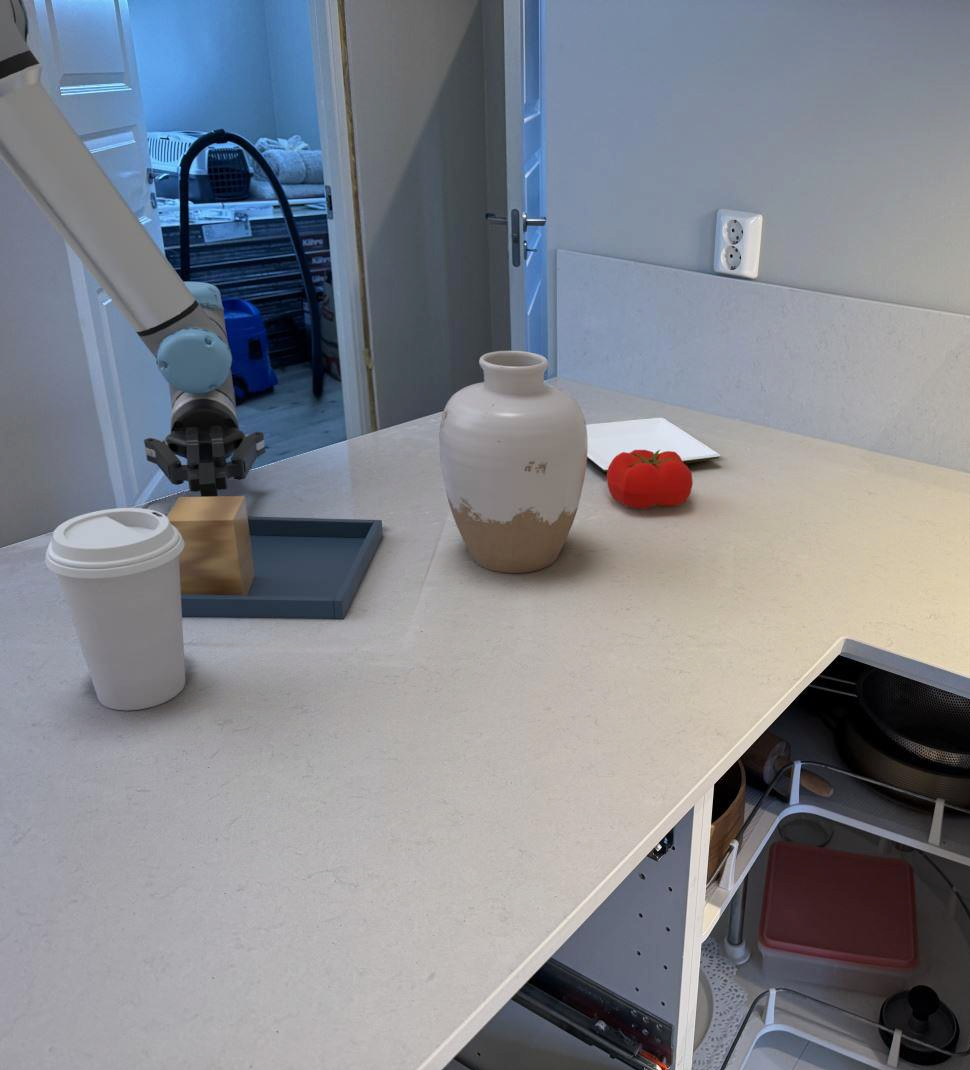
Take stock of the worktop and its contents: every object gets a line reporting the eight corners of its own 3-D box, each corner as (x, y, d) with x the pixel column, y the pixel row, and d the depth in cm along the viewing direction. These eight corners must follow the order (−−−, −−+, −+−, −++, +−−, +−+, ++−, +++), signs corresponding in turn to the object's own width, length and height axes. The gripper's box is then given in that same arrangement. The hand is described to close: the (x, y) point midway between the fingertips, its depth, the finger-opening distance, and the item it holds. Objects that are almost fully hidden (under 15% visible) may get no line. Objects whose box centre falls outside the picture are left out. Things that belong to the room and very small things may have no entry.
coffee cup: (215, 702, 83) (190, 539, 77) (81, 734, 78) (43, 562, 72) (195, 649, 90) (170, 496, 84) (71, 675, 85) (36, 515, 79)
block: (177, 606, 96) (163, 521, 92) (191, 578, 101) (179, 496, 97) (244, 603, 97) (233, 519, 94) (255, 576, 102) (245, 495, 99)
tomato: (699, 514, 128) (703, 466, 125) (617, 519, 124) (619, 471, 122) (676, 486, 136) (679, 441, 134) (598, 491, 133) (600, 445, 130)
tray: (83, 619, 93) (78, 596, 92) (165, 534, 111) (162, 513, 110) (343, 623, 96) (341, 600, 95) (383, 539, 114) (381, 519, 113)
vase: (516, 516, 123) (515, 333, 114) (613, 554, 115) (620, 362, 106) (413, 555, 111) (402, 354, 102) (513, 601, 103) (511, 388, 94)
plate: (603, 482, 136) (604, 468, 135) (553, 440, 150) (553, 427, 149) (720, 467, 145) (722, 454, 144) (662, 428, 159) (663, 416, 158)
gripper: (265, 451, 128) (279, 521, 108) (150, 459, 122) (143, 535, 103) (259, 394, 124) (272, 457, 105) (140, 400, 119) (132, 467, 100)
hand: (209, 495), depth 104 cm, fingers closed
